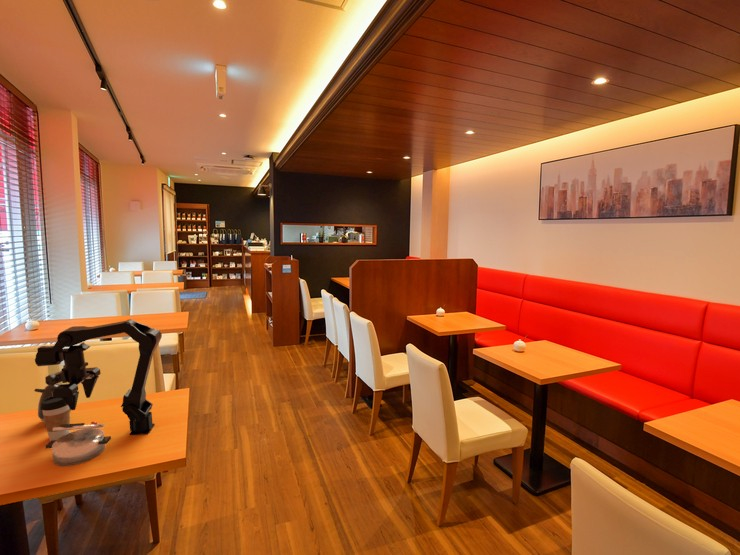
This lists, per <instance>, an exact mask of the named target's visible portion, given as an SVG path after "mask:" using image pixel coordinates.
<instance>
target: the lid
mask: <svg viewBox="0 0 740 555" xmlns="http://www.w3.org/2000/svg"><path fill="white" fill-rule="evenodd" d="M88 428H98V429H100V428H105V423H104V424H103V423H102V424H101V423H100V424H98V421H91V423H90V424H86V423H84V422H79V423H70V424H62V425H61V426H60V427H55V428H53V431H60V430H70V431H73V430H74V431H75V430H81V429H88Z"/></svg>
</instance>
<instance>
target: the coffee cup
mask: <svg viewBox="0 0 740 555" xmlns="http://www.w3.org/2000/svg"><path fill="white" fill-rule="evenodd" d="M40 407H41V408H40V409H41V410H42V411H43V418H44V422H45V423H44V422H43V423H44V425H45V428H46V432H47V435H48V439H49V441H52V440H58V439H59V438H61V437H62V436H64V435H66V434H69V433H71V430H60V431H53V428H55V427H60V426H61V425H62V424H71V411H70V407H69V406H68V405H67V403H66V402H65V401H64V400H63V399H62V398H56V397H52V396H50V397H47V398H45V399H44V400H42V402H41V406H40Z"/></svg>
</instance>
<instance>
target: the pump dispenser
mask: <svg viewBox="0 0 740 555" xmlns="http://www.w3.org/2000/svg"><path fill="white" fill-rule="evenodd" d="M59 385H60V384H59V383H57V384H55V385H53V386H51V385H46V386H45V387H44V388H34V392H36V393H40V397H39V400H38V404H37V405H38V406H37V407H38V408H37V416H38V418H39V419H40V421H41V422H42V423H44V424H45V422H44V418H43V411H42V410H41V409H40V408H41V407H40V406H41V402H42V400H44V399H45V398H47V397H50V396H52V391H53V390H54V389H55V388H56V387H58V386H59ZM71 411H72V410H71V409H70V412H71Z"/></svg>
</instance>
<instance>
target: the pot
mask: <svg viewBox="0 0 740 555" xmlns="http://www.w3.org/2000/svg"><path fill="white" fill-rule="evenodd" d="M111 439H112V436H111V435H110V436H109V435H108V436H105V434H104V430H102V429H100V428H88V429H76V430H74V431H70V433H69V434H66V435H64V436H62V437H61V438H59V439H58V440H52V441H51V440H49V442H48V443H46V445H44V446H45V449H51V451H52V458H53V463H54V464H55V465H56V466H59V467H71V466H76V465H80V464H84V463H86V462H89V461H90V460H92V459H94V458H96V457H98V456H100V454H101V453H103V452H104V450H105V449H106V444H108V443H109V442H110V441H111Z"/></svg>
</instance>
